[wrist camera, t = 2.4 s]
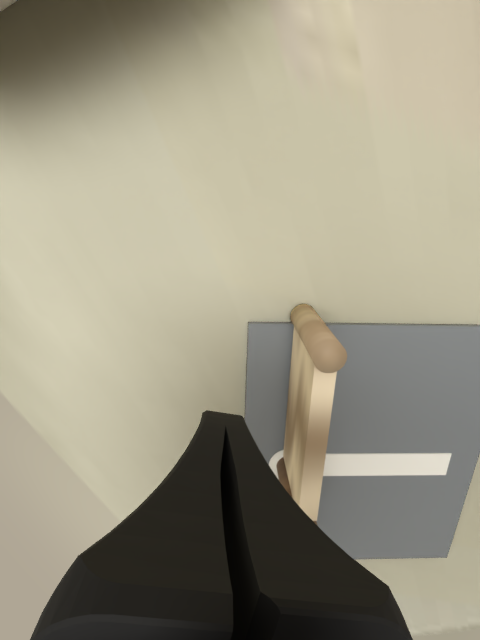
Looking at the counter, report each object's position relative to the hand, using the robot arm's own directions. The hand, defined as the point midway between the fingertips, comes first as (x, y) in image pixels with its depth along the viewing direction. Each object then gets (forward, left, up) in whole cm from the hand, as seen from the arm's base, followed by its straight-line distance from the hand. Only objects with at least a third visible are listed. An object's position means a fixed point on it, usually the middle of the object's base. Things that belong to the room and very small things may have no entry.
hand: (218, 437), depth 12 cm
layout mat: (-10, +9, -9) cm, 16 cm away
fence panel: (-4, +3, -8) cm, 10 cm away
